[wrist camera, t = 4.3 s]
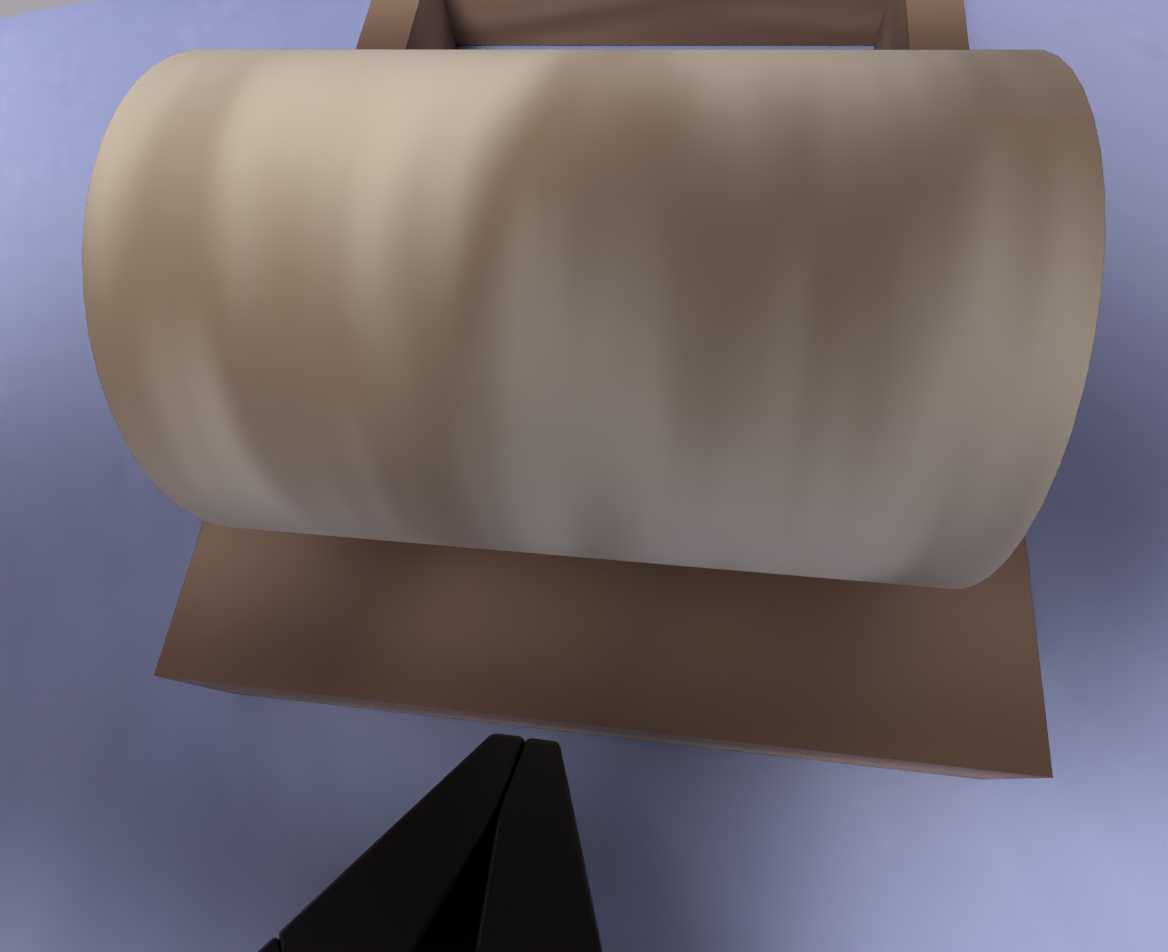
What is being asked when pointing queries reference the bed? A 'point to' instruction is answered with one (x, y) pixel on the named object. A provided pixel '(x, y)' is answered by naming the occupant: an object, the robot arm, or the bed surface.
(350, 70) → the roller
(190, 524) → the bed surface
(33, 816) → the bed surface
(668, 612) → the paper towel roll tray
